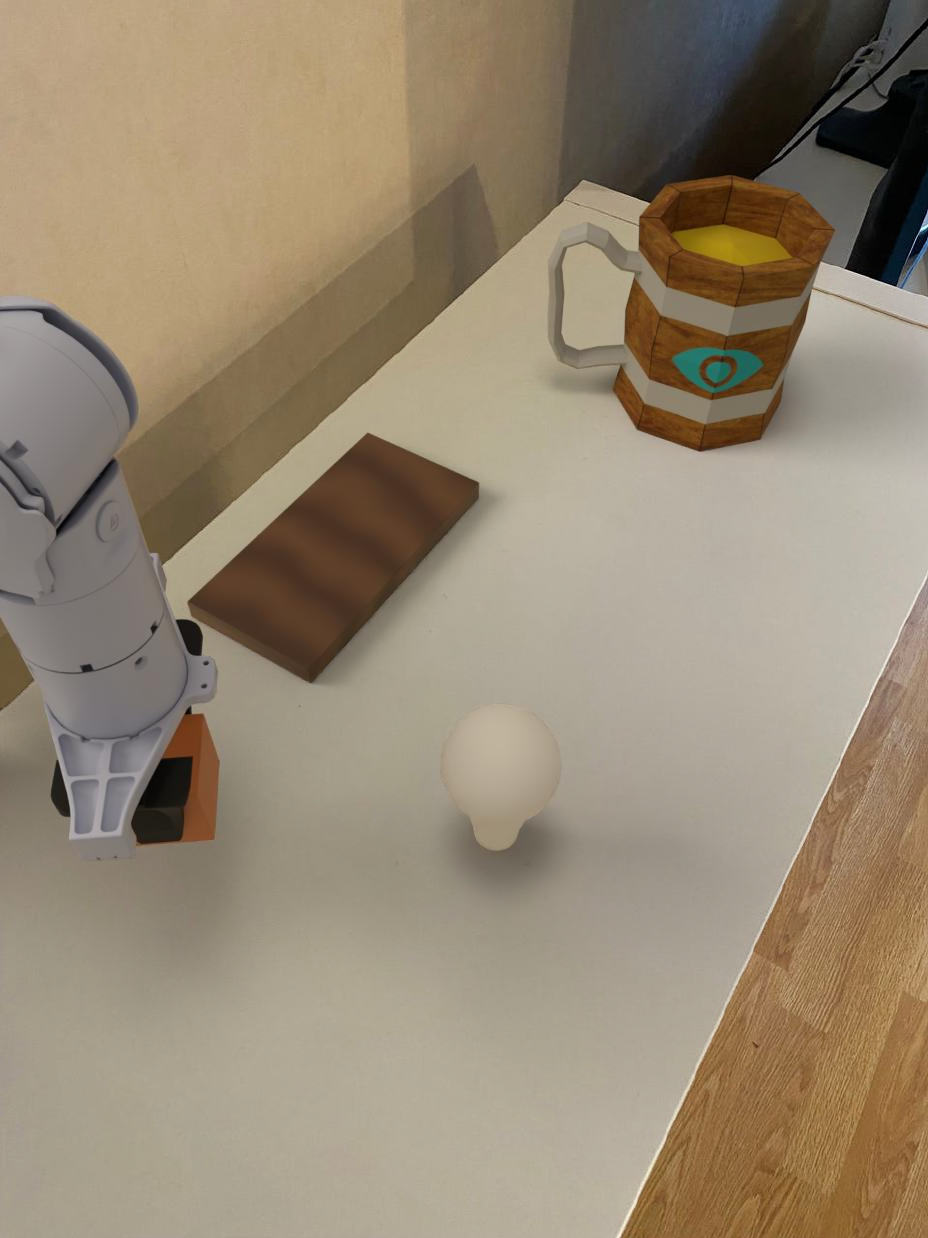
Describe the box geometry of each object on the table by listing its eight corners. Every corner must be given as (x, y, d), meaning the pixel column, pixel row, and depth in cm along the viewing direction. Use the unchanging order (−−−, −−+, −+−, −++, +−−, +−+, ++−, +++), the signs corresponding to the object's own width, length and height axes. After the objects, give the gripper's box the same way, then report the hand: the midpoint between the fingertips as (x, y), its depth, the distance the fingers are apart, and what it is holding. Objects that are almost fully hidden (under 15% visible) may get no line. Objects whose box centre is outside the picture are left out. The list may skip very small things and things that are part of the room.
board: (310, 683, 64) (308, 669, 63) (191, 616, 67) (186, 601, 66) (479, 497, 75) (479, 482, 74) (368, 447, 78) (367, 431, 77)
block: (121, 848, 49) (96, 803, 46) (131, 767, 52) (108, 719, 49) (214, 840, 50) (197, 795, 46) (220, 761, 52) (203, 712, 49)
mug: (773, 351, 86) (824, 180, 74) (788, 458, 78) (848, 285, 66) (542, 334, 87) (556, 163, 76) (532, 437, 79) (546, 264, 67)
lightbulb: (488, 909, 55) (495, 811, 46) (419, 829, 58) (414, 723, 49) (571, 844, 57) (593, 739, 49) (501, 770, 60) (510, 659, 52)
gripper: (179, 769, 35) (241, 925, 45) (206, 478, 44) (253, 664, 54) (-32, 785, 34) (81, 939, 45) (39, 487, 43) (119, 674, 54)
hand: (165, 789), depth 50 cm, fingers closed on block, 4 cm apart
